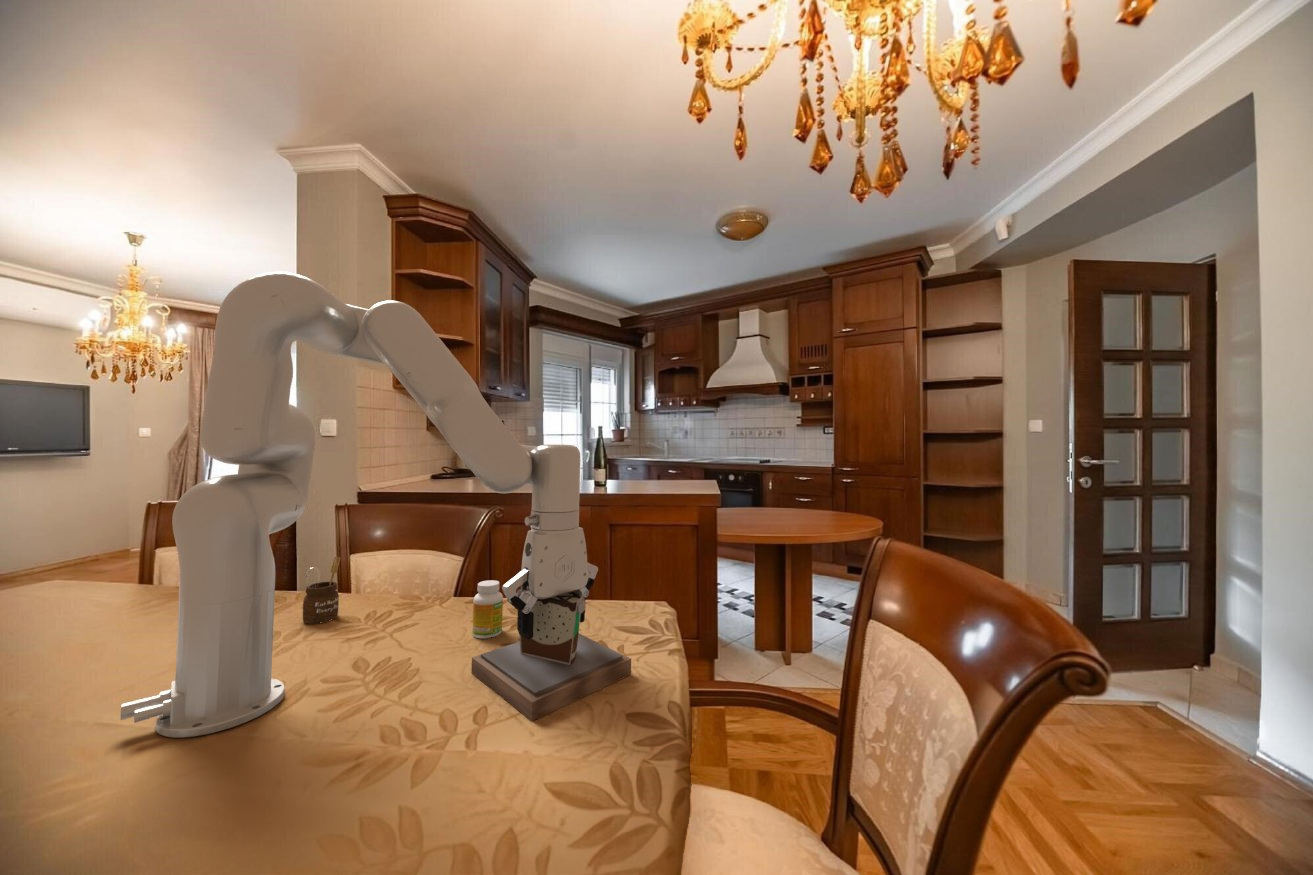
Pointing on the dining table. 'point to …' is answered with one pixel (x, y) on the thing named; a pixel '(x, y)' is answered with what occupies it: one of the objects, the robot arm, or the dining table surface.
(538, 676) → the podium
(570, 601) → the food container
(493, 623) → the supplement bottle
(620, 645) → the dining table surface
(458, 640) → the dining table surface
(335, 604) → the utensil holder
